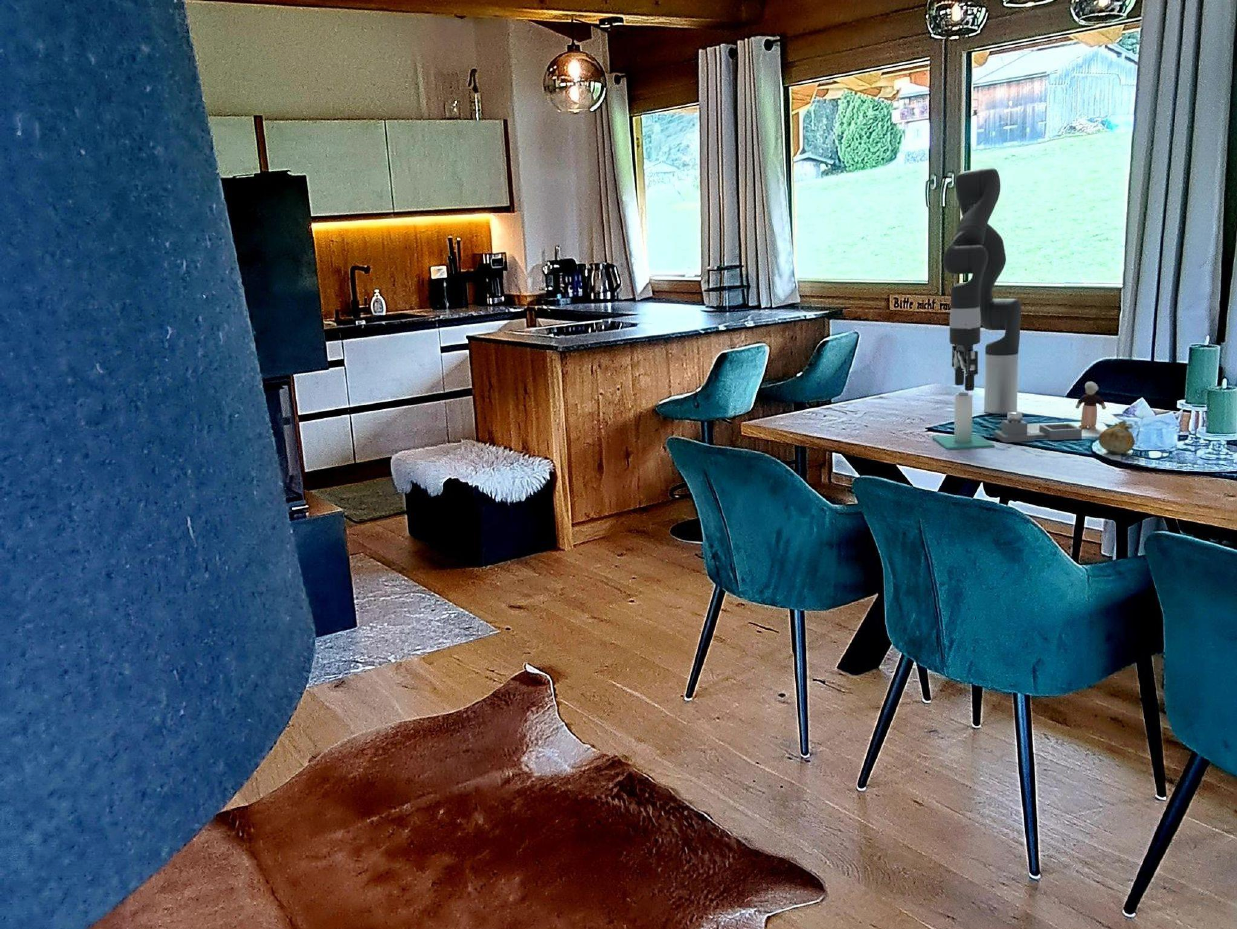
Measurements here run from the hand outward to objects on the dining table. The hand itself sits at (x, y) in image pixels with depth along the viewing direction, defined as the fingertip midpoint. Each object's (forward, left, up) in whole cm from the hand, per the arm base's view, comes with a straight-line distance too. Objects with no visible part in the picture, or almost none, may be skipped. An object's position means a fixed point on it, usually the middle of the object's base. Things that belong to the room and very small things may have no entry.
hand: (964, 387), depth 277 cm
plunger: (-2, +14, -12) cm, 19 cm away
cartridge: (0, 0, -14) cm, 14 cm away
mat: (0, 0, -15) cm, 15 cm away
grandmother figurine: (-10, +37, -15) cm, 41 cm away
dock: (-2, +21, -15) cm, 26 cm away
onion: (+20, +31, -15) cm, 40 cm away
